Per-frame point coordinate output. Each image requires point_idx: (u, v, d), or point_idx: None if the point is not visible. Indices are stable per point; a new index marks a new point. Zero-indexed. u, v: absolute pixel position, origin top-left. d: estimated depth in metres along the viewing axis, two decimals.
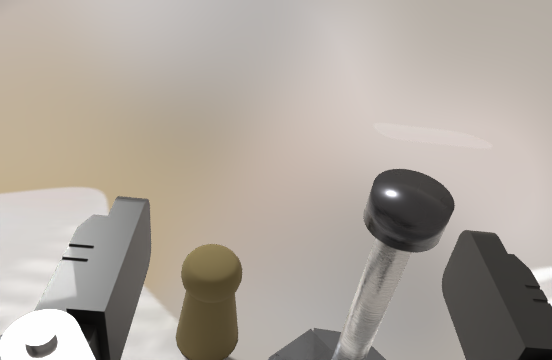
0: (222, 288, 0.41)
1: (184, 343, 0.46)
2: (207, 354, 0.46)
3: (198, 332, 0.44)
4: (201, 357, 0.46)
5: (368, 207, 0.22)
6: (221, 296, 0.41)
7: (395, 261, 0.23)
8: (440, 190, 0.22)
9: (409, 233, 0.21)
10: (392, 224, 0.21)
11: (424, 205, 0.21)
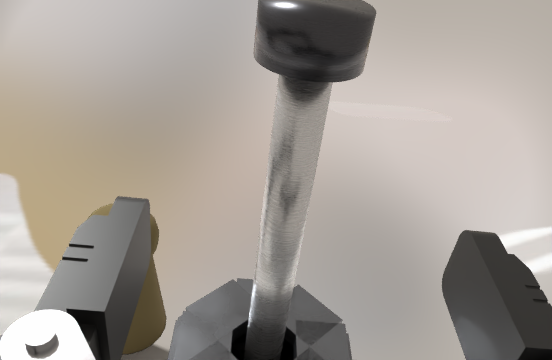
0: None
1: None
2: None
3: None
4: None
5: (256, 30, 0.15)
6: None
7: (303, 115, 0.16)
8: (357, 2, 0.16)
9: (310, 46, 0.14)
10: (285, 35, 0.14)
11: (331, 11, 0.15)
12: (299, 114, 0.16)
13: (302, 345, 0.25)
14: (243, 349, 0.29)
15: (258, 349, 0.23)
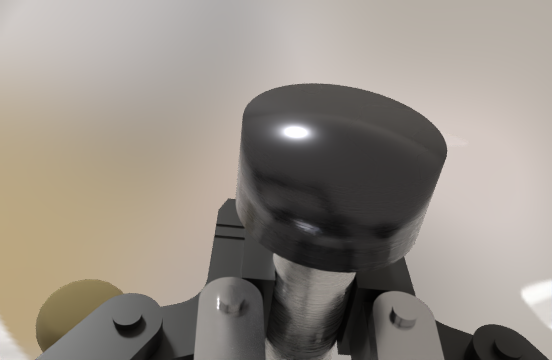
0: None
1: None
2: None
3: None
4: None
5: (238, 169, 0.09)
6: None
7: (318, 296, 0.10)
8: (409, 119, 0.09)
9: (335, 222, 0.08)
10: (289, 201, 0.08)
11: (371, 149, 0.08)
12: (311, 294, 0.10)
13: None
14: None
15: None
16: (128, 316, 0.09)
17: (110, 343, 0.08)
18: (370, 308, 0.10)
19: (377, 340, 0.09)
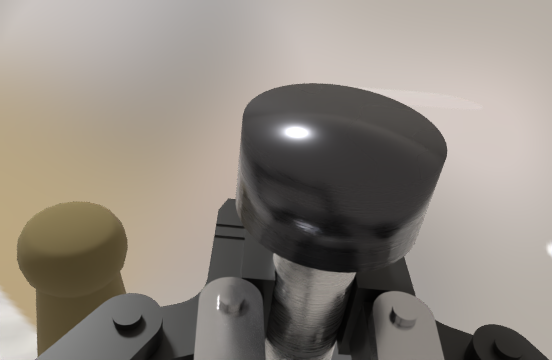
0: (83, 269, 0.23)
1: None
2: None
3: None
4: None
5: (238, 168, 0.09)
6: (83, 283, 0.24)
7: (317, 296, 0.10)
8: (409, 119, 0.09)
9: (335, 222, 0.08)
10: (289, 201, 0.08)
11: (371, 149, 0.08)
12: (311, 294, 0.10)
13: None
14: None
15: None
16: (128, 316, 0.09)
17: (110, 343, 0.08)
18: (370, 308, 0.10)
19: (377, 340, 0.09)
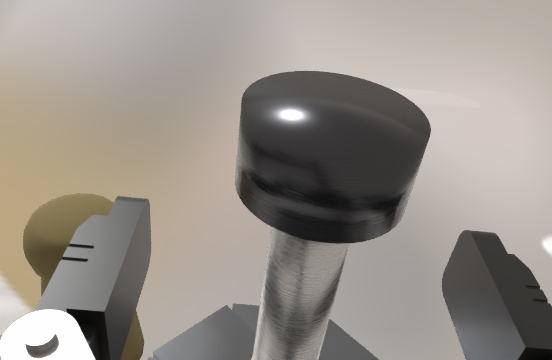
0: None
1: None
2: None
3: None
4: None
5: None
6: None
7: (311, 269, 0.11)
8: (397, 103, 0.10)
9: (326, 195, 0.08)
10: (283, 175, 0.09)
11: (359, 129, 0.09)
12: (305, 267, 0.11)
13: None
14: None
15: None
16: None
17: None
18: None
19: None
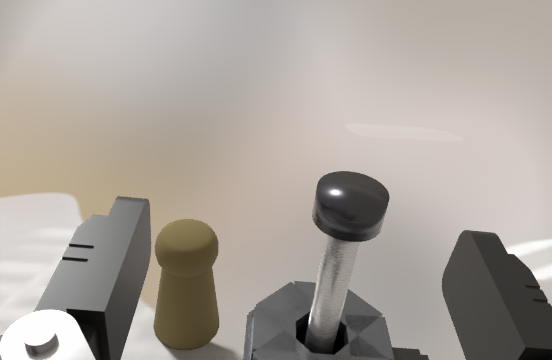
0: (198, 259, 0.39)
1: (162, 329, 0.44)
2: (187, 339, 0.43)
3: (176, 313, 0.42)
4: (181, 343, 0.43)
5: (314, 205, 0.25)
6: (197, 268, 0.39)
7: (343, 254, 0.26)
8: (377, 186, 0.25)
9: (350, 224, 0.24)
10: (335, 217, 0.24)
11: (362, 199, 0.24)
12: (341, 253, 0.26)
13: (352, 333, 0.31)
14: None
15: None
16: None
17: None
18: None
19: None
